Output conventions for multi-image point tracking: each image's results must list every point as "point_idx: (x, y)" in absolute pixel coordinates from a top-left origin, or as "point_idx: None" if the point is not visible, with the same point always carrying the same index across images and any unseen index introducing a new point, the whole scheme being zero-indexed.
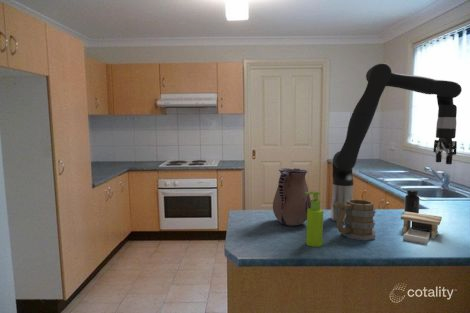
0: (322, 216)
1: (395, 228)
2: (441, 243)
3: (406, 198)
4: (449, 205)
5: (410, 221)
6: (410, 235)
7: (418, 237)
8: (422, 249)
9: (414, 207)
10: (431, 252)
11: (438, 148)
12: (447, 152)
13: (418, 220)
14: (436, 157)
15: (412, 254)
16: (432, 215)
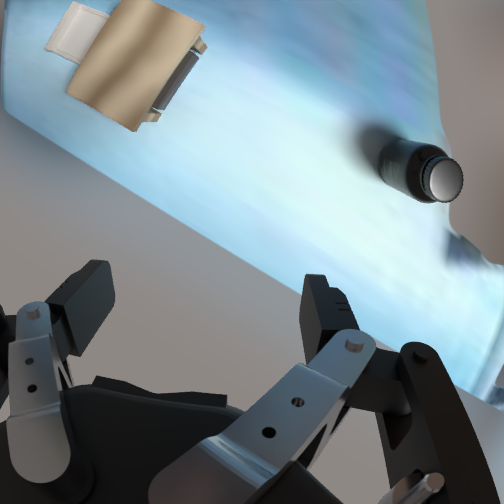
0: None
1: (182, 4)
2: (61, 88)
3: (424, 143)
4: (454, 342)
5: (192, 47)
6: (65, 15)
7: (54, 32)
8: (31, 37)
9: (388, 162)
10: (19, 51)
11: (264, 400)
12: (16, 325)
13: (97, 38)
14: (318, 300)
15: (14, 16)
16: (147, 104)
